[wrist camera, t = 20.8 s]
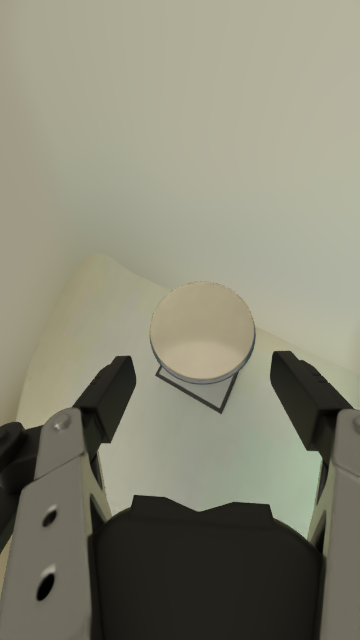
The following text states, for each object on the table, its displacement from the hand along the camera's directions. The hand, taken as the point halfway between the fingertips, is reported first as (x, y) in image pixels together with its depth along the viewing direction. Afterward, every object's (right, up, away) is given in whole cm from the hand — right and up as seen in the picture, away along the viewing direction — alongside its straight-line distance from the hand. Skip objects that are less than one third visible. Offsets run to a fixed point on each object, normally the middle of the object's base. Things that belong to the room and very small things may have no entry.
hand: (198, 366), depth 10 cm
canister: (+2, -2, +9) cm, 9 cm away
